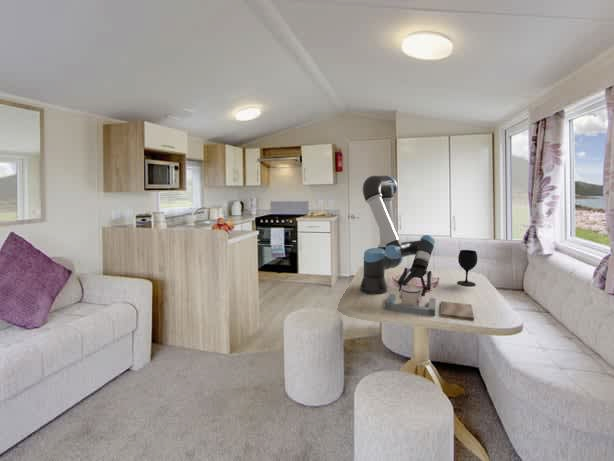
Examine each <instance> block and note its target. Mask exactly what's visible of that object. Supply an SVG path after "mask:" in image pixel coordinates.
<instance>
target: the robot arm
mask: <svg viewBox="0 0 614 461" xmlns="http://www.w3.org/2000/svg"><path fill="white" fill-rule="evenodd" d="M362 184H363V185H362V193H363V197H364V201H365V203H367V204H368V205H369V207H370V210H371V212H372V215H373V217H374V220H375V222H376V224H377V226H378V233H379V244H378V245H377V247H373V248H368V249H366V250H365V251H364V254H363V274H362V275H363V277H362V280H361V282H360V285H359V290H360V291H361V292H362V293H365V294H371V295H381V294H382V295H383V294H386V293H387V292H388V285H387V282H386V278H385V272H386V270H390V269H395V268H397V267H398V266H399V265H401V263H402V261H403V258H405V257H408V256H414V260H413V262H412V263H411V267H410V268H408V267H405V268H404V270H403V273H402V274H401V276H400V277H399V279H398V280H397V282H396V284H398V286H399V288H398V292H399V293H398V298H399V299H400V300H401V299H402V290H401V289H402V287H403V286H407V285H408V284H409V282H410V281H411V280H412V279H414V278H416V279H417V278H418V279H420V281H421V286H422V288H420V294H419V297H418V302H419V304H421V303H422V300H423V297H425V296H426V293H427V291H429V292H430V291H431V286H432V285H431V284H432V282H431V280H432V276H433V274H432V271H431V270H429V271H427V270H428V267H429V263H430V260H431V256H432V253H433V250H434V248H435V243H436V240H435V238H434V237H433V236H431V235H427V234H425V235H422V236H420V239H419V240H414V241H413V240H412V241H410V240H409V241H403V242H401V241H400V238H399V236H398V234H397V231H396V229H395V224H394V211H393V201H394V199H395V194H397V193H396V192H397V191H398V182H397V181H396V179H395V178H394V177H392V176H389V175H371V176H368V177H367V178H366V179H365V180H364V182H363V183H362ZM425 275H426V283H425V280H424V276H425Z"/></svg>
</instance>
